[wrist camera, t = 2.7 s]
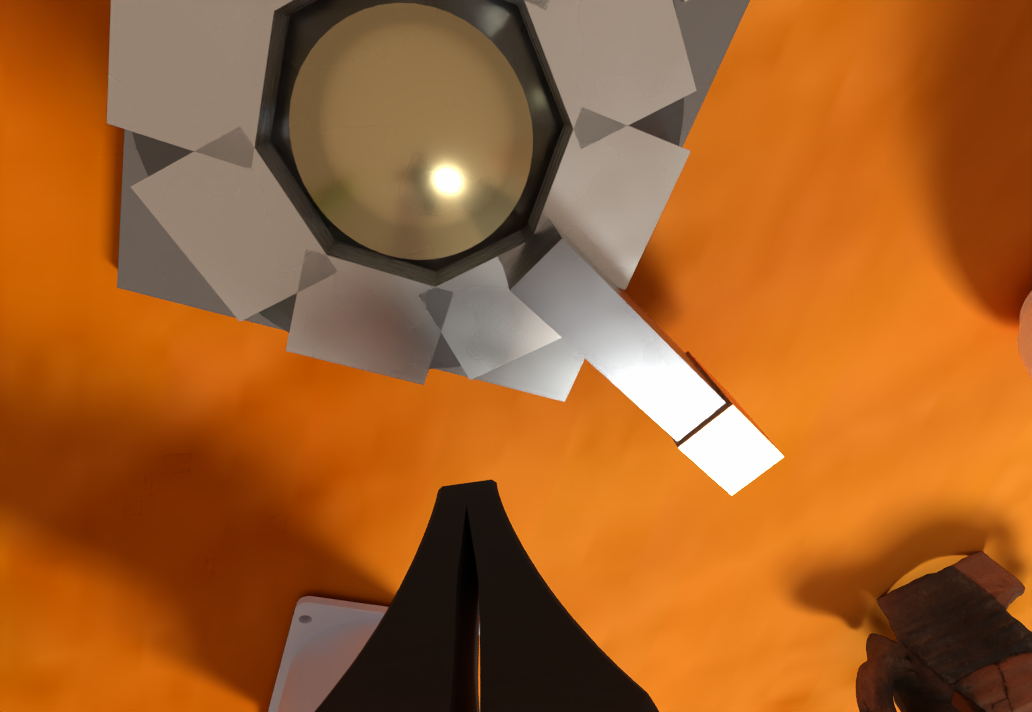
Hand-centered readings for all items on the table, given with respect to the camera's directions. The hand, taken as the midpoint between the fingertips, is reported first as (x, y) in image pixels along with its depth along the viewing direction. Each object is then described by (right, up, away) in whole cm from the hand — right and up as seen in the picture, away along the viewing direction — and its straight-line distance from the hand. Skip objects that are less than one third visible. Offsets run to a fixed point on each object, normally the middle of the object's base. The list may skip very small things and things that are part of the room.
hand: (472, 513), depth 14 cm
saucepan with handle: (+1, +8, 0) cm, 9 cm away
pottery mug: (+22, -10, +15) cm, 29 cm away
